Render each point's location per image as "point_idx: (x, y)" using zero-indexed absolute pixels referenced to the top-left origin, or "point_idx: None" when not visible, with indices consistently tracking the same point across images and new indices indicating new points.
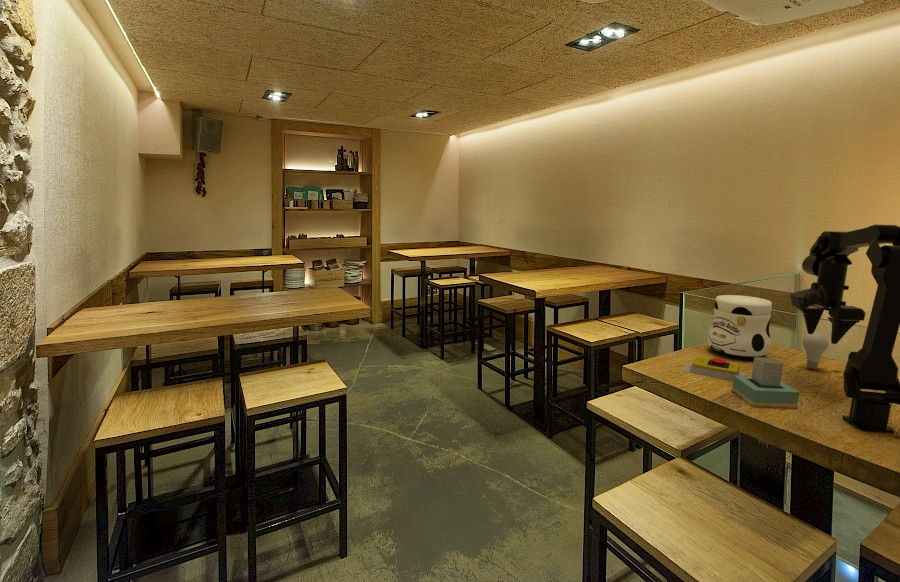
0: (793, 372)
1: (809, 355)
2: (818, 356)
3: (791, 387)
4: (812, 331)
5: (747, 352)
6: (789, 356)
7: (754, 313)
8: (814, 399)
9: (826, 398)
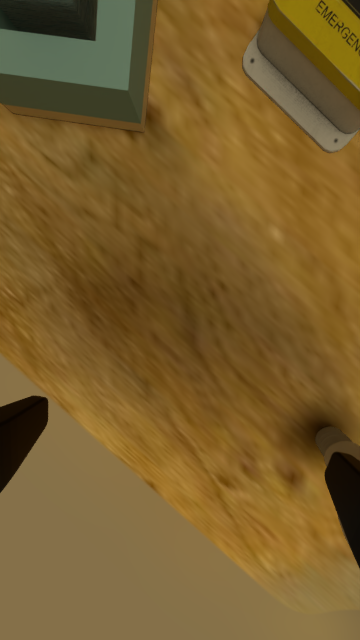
0: (305, 353)
1: (354, 454)
2: None
3: (6, 73)
4: (339, 494)
5: None
6: None
7: None
8: (86, 235)
9: (95, 279)
